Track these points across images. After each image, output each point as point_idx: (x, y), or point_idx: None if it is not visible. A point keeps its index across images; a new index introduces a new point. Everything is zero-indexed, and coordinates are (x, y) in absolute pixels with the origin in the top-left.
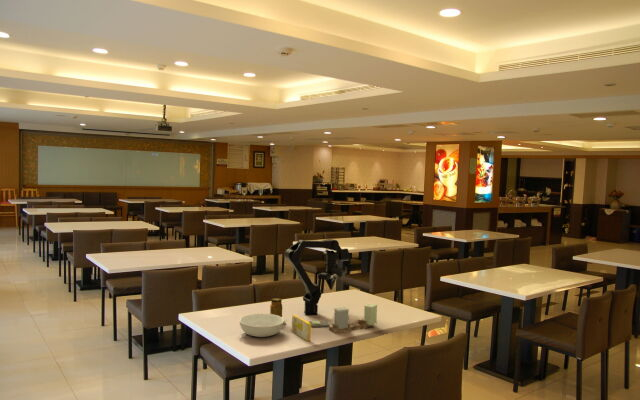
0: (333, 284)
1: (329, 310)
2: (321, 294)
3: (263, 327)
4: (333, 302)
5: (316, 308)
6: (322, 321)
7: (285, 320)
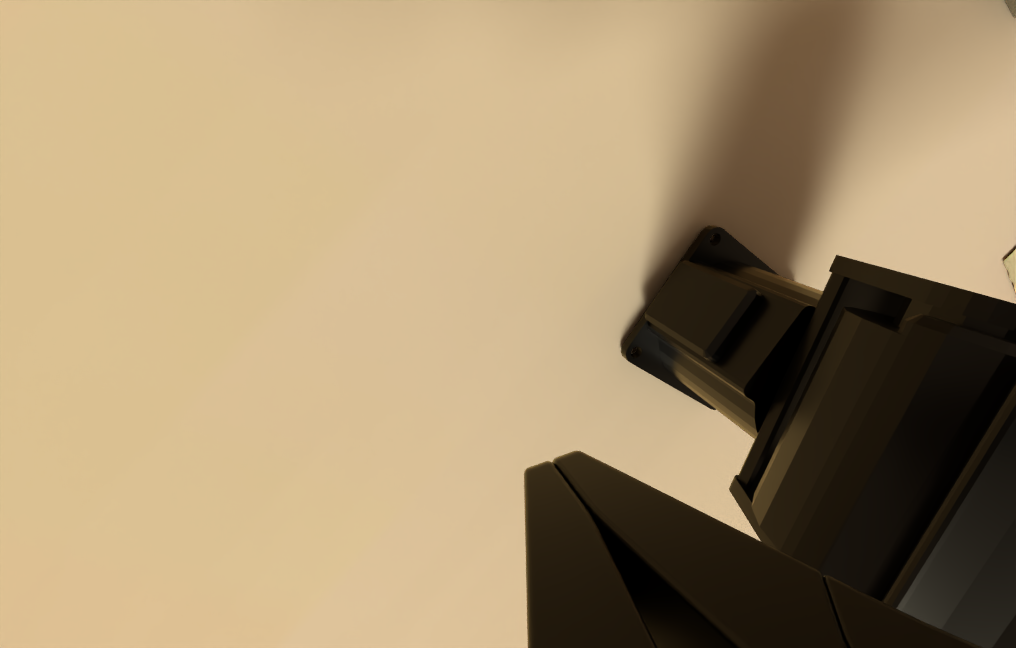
0: (595, 635)
1: (424, 299)
2: (920, 323)
3: None
4: (57, 613)
5: (738, 278)
6: None
7: (1011, 262)
